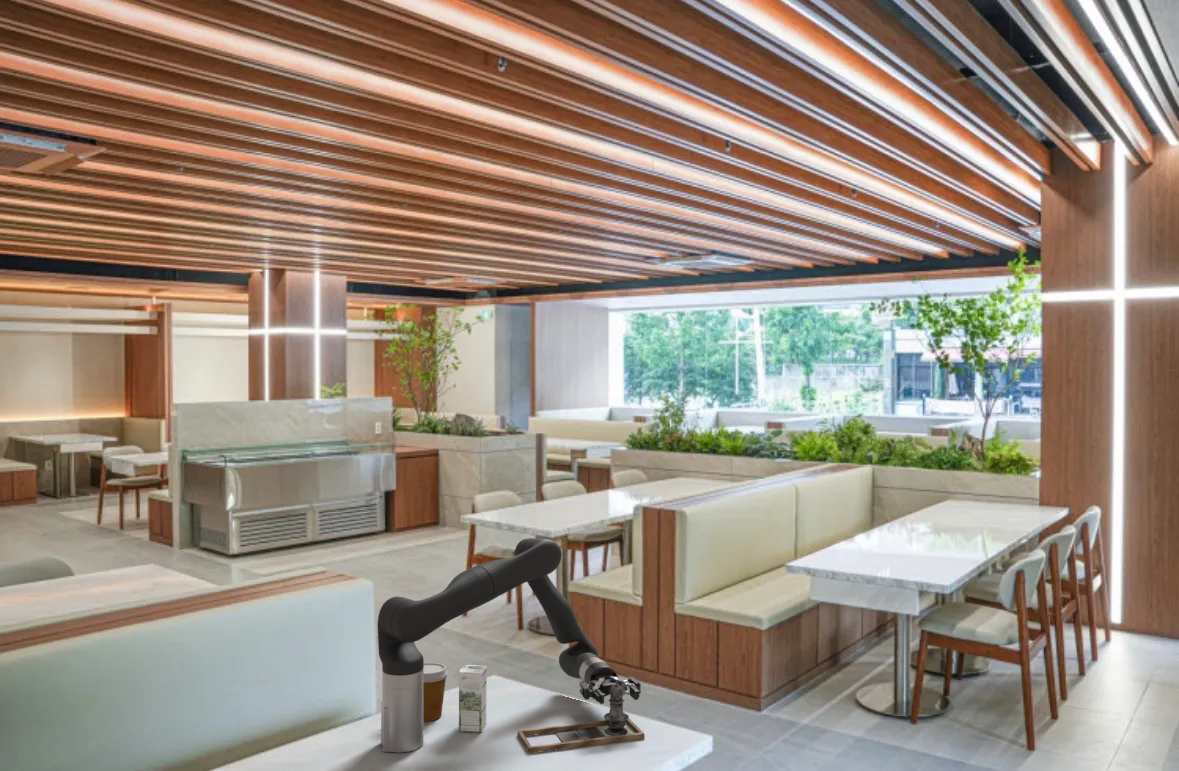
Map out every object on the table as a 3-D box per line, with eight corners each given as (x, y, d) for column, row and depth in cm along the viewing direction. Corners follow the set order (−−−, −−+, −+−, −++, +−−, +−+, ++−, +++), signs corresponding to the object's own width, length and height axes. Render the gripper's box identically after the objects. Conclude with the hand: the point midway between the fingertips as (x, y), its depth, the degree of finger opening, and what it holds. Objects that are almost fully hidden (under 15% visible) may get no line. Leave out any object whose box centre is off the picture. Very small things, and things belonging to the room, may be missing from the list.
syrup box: (487, 724, 216) (487, 664, 216) (481, 733, 210) (482, 672, 210) (463, 723, 216) (464, 663, 217) (457, 732, 211) (458, 671, 211)
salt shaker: (626, 737, 207) (626, 685, 207) (601, 735, 209) (601, 684, 209) (630, 728, 213) (630, 677, 213) (606, 726, 214) (606, 676, 214)
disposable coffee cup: (444, 724, 216) (444, 674, 216) (404, 723, 216) (405, 674, 216) (451, 709, 226) (451, 662, 226) (413, 709, 226) (413, 662, 226)
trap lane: (528, 753, 199) (529, 748, 199) (517, 735, 209) (517, 730, 209) (644, 738, 207) (644, 733, 207) (628, 722, 217) (628, 717, 217)
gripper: (570, 664, 222) (591, 684, 207) (624, 658, 227) (648, 678, 211) (570, 694, 222) (591, 717, 207) (624, 688, 227) (648, 710, 211)
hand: (620, 697), depth 209 cm, fingers open, 8 cm apart
